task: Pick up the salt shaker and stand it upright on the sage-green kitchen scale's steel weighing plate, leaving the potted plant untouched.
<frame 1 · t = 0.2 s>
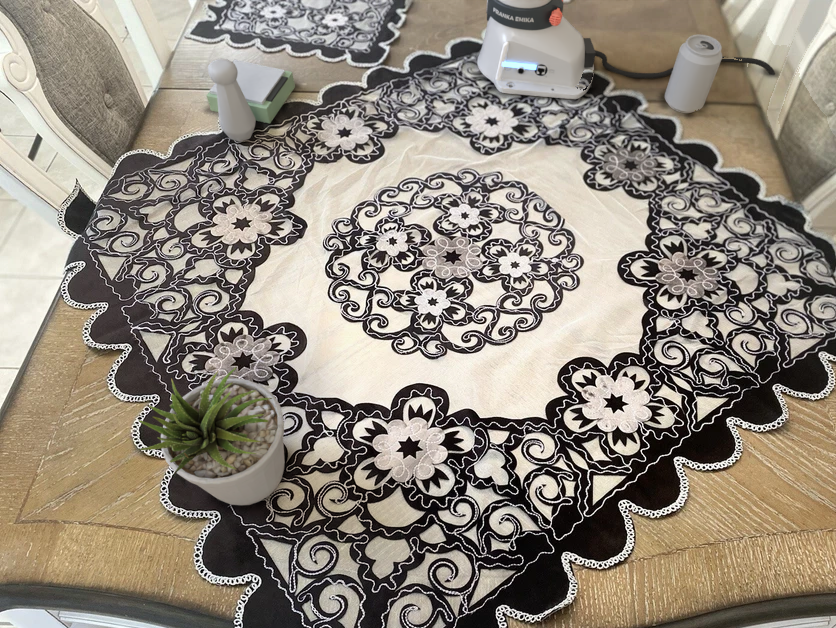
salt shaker: (241, 134, 115), on the table
can: (682, 104, 127), on the table
kitchen scale: (253, 98, 120), on the table
potted plant: (242, 473, 81), on the table
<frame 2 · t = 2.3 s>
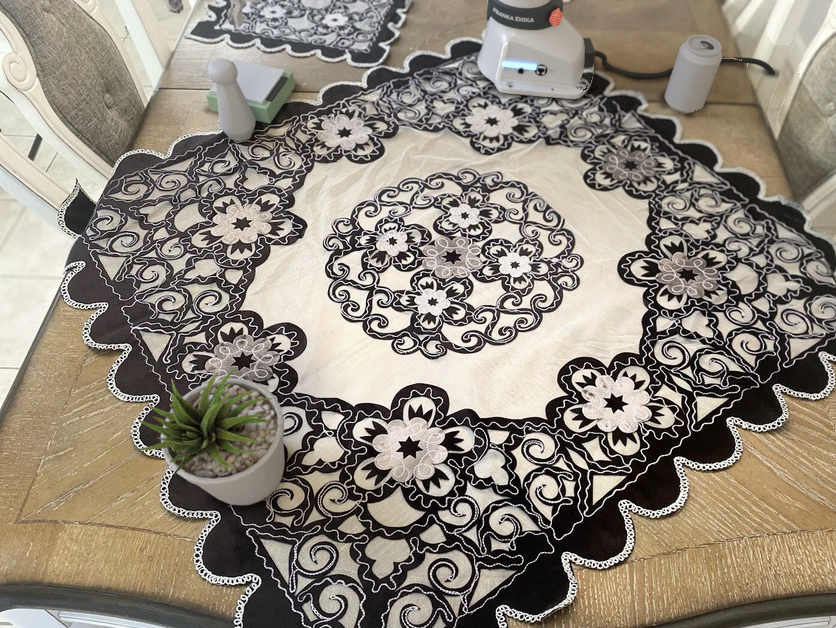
hand: (206, 17, 97), 20 cm above the table, tool pointing down, fingers open, 8 cm apart
nothing on the table moved.
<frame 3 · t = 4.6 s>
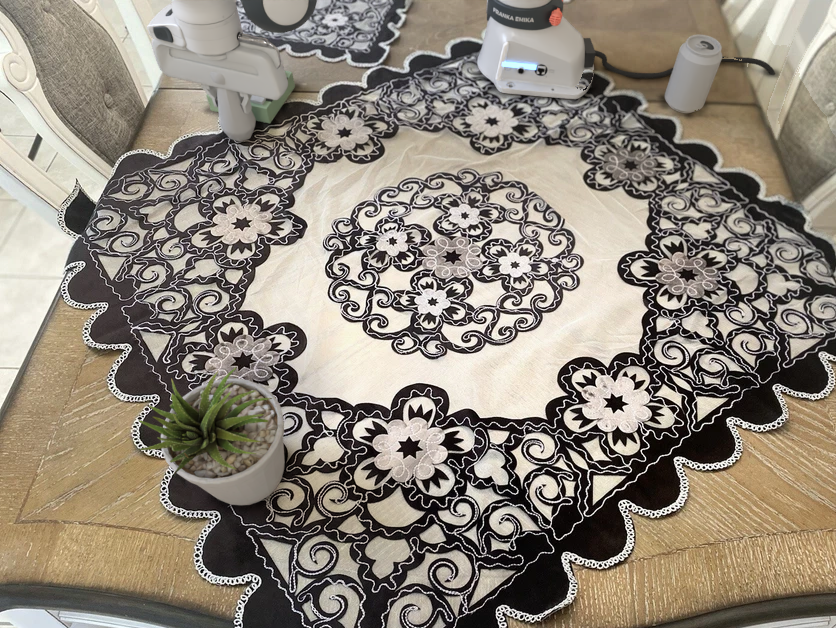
hand: (233, 108, 110), 5 cm above the table, tool pointing down, fingers closed on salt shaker, 3 cm apart
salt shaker: (241, 134, 115), on the table, touching gripper
everything else where it was.
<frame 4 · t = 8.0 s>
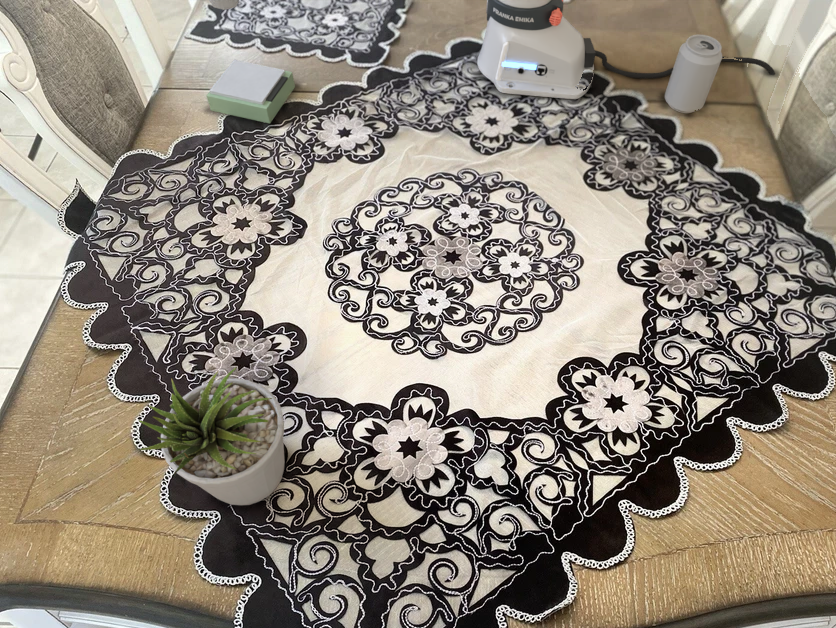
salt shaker: (226, 3, 104), point 18 cm above the table, touching gripper
everything else where it was.
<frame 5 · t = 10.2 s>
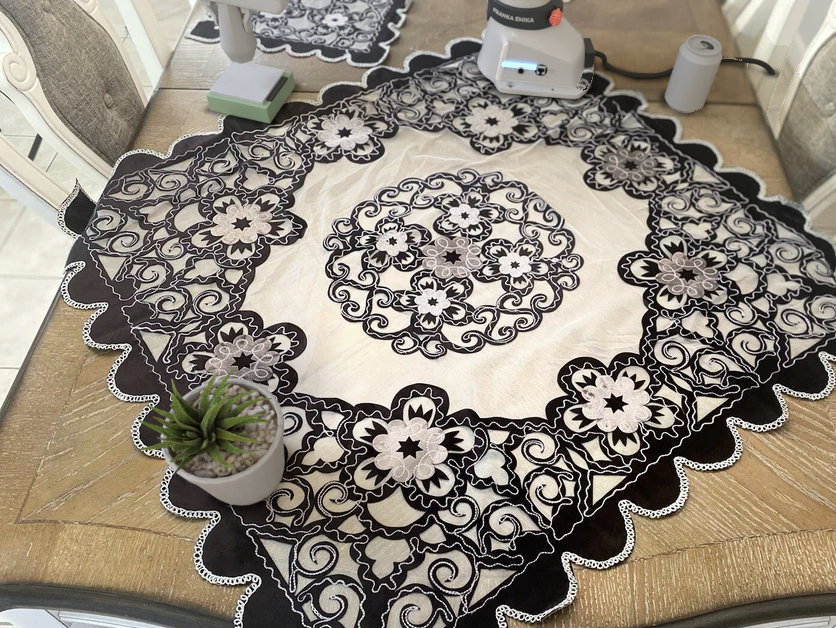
hand: (234, 27, 109), 13 cm above the table, tool pointing down, fingers closed on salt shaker, 3 cm apart
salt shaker: (242, 57, 113), point 8 cm above the table, touching gripper
everything else where it was.
when the fingers open (9 cm above the table, at t = 11.6 s): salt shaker stays where it is, resting on kitchen scale.
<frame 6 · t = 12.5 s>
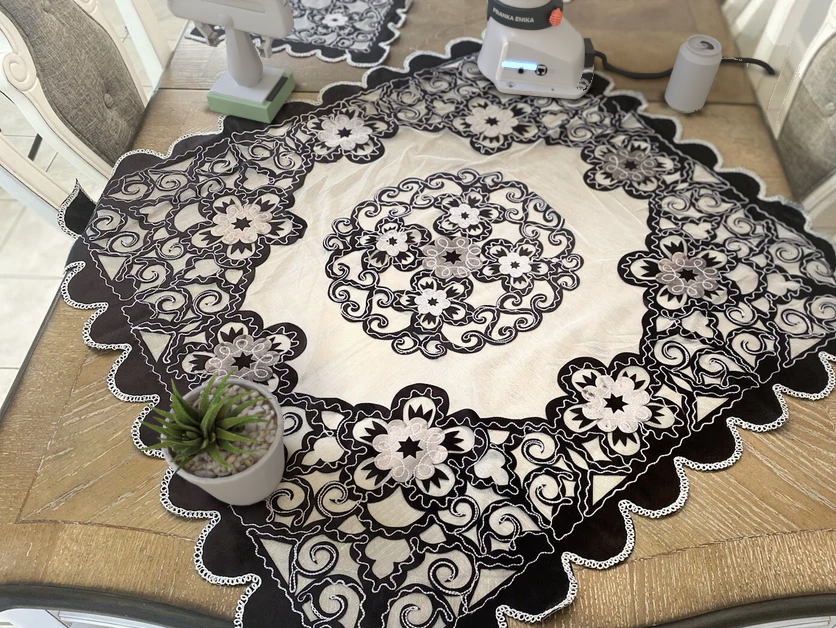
hand: (240, 50, 112), 9 cm above the table, tool pointing down, fingers open, 8 cm apart
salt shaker: (248, 81, 117), point 3 cm above the table, touching kitchen scale
everything else where it was.
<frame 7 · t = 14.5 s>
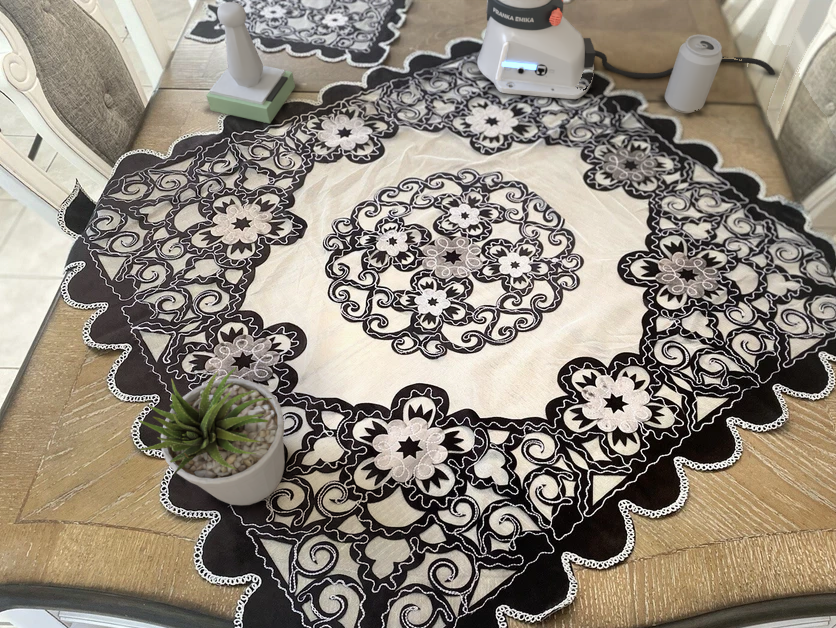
nothing on the table moved.
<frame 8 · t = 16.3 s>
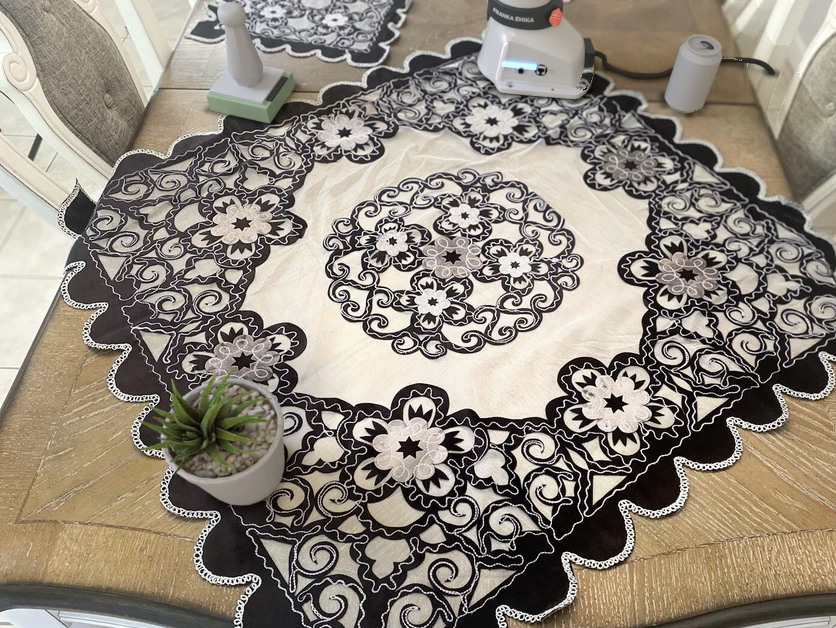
nothing on the table moved.
at the end: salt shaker inside the target area on the kitchen scale (0.1 cm from its centre), point 3.4 cm above the kitchen scale's base; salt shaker tilted 0°; potted plant moved 0.2 cm from its start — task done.
